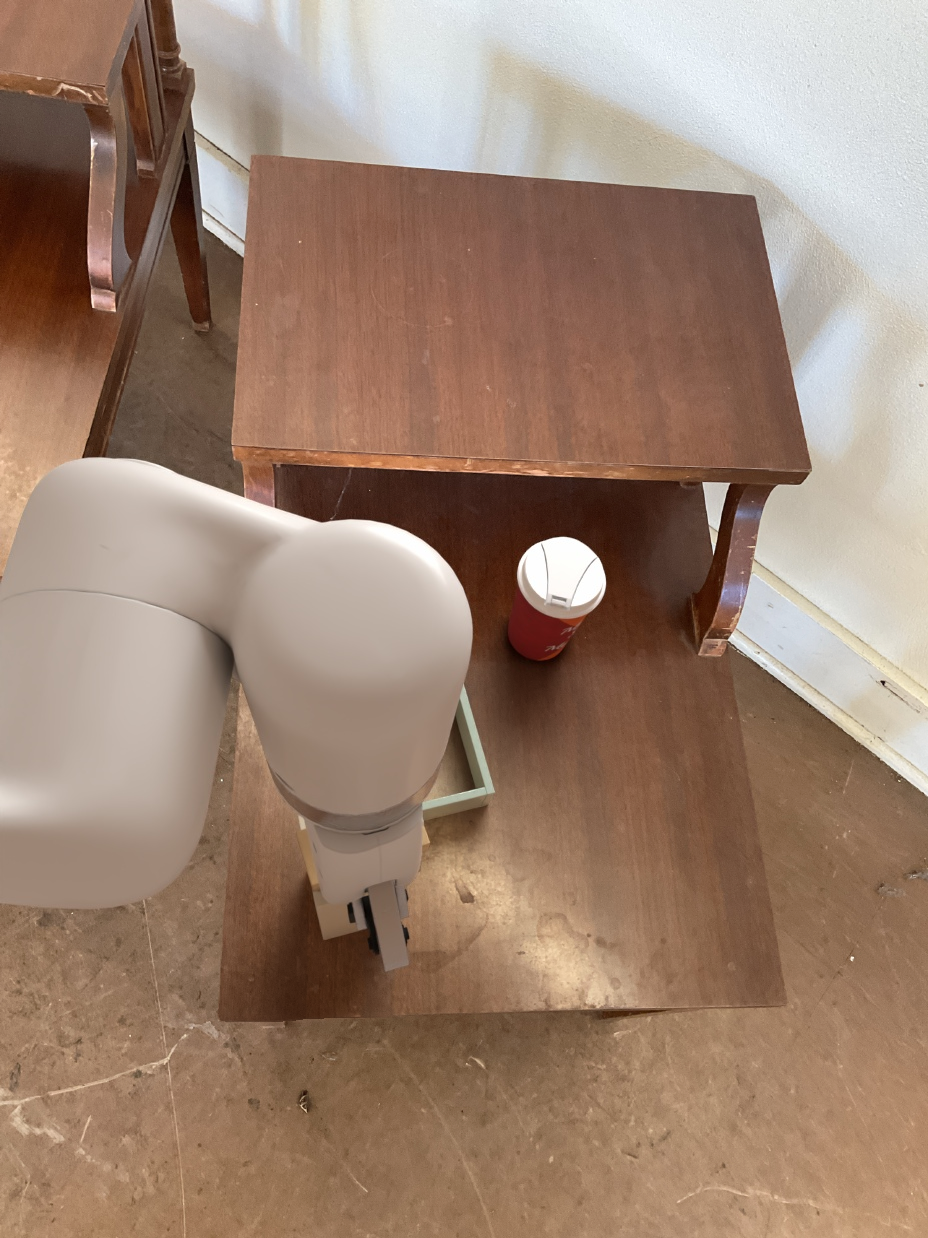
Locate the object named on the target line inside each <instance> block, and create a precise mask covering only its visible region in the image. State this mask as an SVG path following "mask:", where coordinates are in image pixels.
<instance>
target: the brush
mask: <svg viewBox="0 0 928 1238" xmlns="http://www.w3.org/2000/svg"><path fill="white" fill-rule="evenodd" d="M295 836H296V839H297V843H298V847H299V850H300V853H301V857H302V860H303V863H304V867H305V870H306V873H307V877H308V880H309V883H310V888H311V890H313V891H312V893H313V892H315V891H321V890H320V886H319V882H318V877H317V873H316V868H315V864H314V859H313V855H312V851H311V847H310V842H309V838H308V834H307V830H306V829H303V830H300V829H299V830H297V831H295ZM430 844H431V841H430V838H429V835H428V833H427V829H426V827H425V823H424V824H423V836H422V854H424V853H426V852H427V851H428V849H429V848H430Z"/></svg>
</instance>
